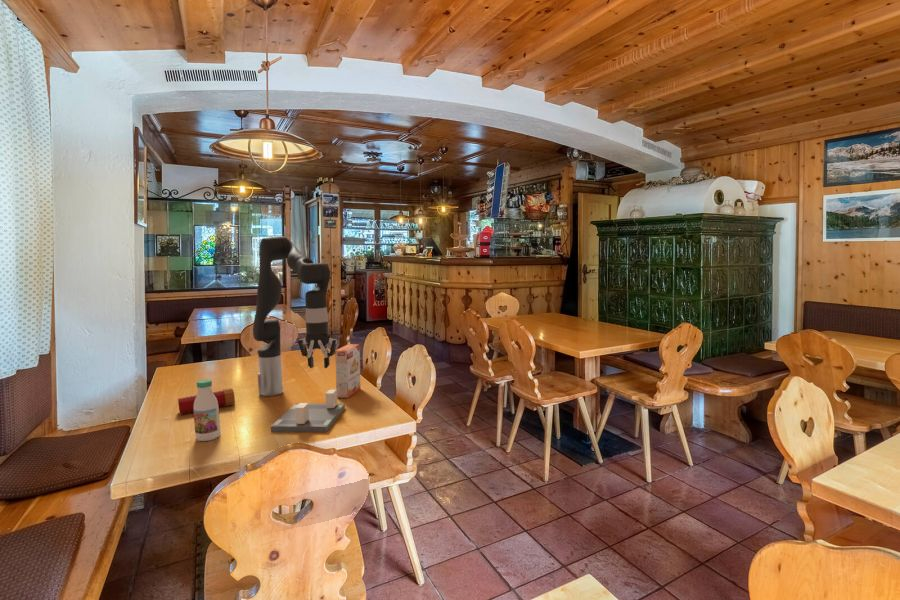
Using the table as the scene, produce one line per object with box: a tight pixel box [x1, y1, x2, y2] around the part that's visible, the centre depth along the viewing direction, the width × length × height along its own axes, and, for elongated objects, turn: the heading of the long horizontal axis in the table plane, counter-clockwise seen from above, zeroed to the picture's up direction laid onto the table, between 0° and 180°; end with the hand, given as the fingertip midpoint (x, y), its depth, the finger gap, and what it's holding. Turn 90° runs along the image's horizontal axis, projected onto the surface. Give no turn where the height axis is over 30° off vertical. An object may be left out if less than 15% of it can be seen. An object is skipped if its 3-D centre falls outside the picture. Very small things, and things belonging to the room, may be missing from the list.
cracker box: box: [334, 343, 361, 399], centre depth 209 cm, size 14×6×21 cm, turn 168°
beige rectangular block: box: [295, 402, 309, 424], centre depth 171 cm, size 3×5×6 cm, turn 177°
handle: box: [325, 388, 338, 408], centre depth 187 cm, size 3×5×6 cm, turn 177°
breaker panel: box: [270, 402, 346, 433], centre depth 180 cm, size 20×24×2 cm
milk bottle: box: [193, 379, 221, 442], centre depth 163 cm, size 8×8×20 cm
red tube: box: [177, 387, 236, 415], centre depth 192 cm, size 7×20×7 cm, turn 123°
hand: (319, 367), depth 169 cm, fingers open, 4 cm apart
